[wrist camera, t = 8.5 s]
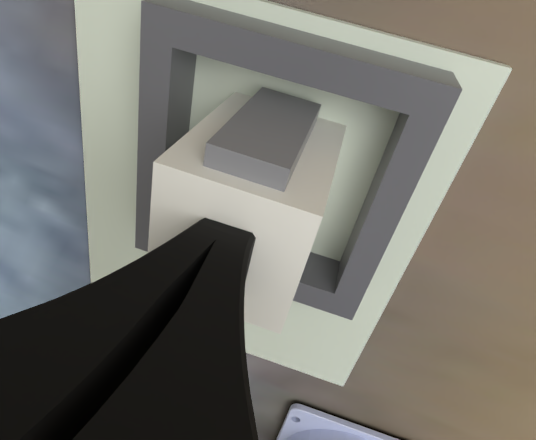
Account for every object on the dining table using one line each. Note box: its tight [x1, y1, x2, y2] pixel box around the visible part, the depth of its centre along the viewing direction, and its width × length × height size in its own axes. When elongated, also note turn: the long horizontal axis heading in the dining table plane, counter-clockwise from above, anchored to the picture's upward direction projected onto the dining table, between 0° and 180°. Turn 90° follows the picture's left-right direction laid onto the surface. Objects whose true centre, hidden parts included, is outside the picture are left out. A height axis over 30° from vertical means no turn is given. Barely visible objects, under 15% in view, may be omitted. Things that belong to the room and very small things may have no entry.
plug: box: [148, 87, 347, 334], centre depth 13 cm, size 5×4×6 cm
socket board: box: [74, 0, 512, 386], centre depth 16 cm, size 16×14×2 cm
